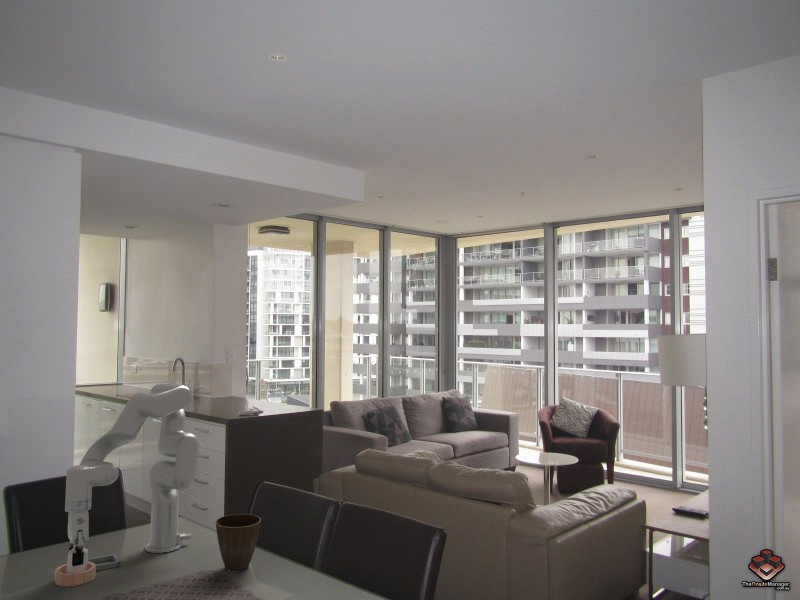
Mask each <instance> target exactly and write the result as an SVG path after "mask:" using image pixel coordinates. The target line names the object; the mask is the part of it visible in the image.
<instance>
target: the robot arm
mask: <svg viewBox="0 0 800 600" xmlns="http://www.w3.org/2000/svg"><path fill="white" fill-rule="evenodd" d="M192 399H193V394H192V391H191V389H190V388H189V387H188V386H186V385H184V384H174V383H173V384H172V383H157V384H155V385H153V386H152V387H151V389H150V393H149V392H136V393H134V394H133V395H132V396H131V397H130V398H129V400H128V401H127V403H126V404H125V406H124V407H123V409H122V411H120V412H121V413H120V414H119V416H118V417H117V419H116V420H115V422H114V424H113V426H112V427H111V428H110V430H108V431H107V432H105V433H104V434H103V435H101V436H100V437H99V438H98V439H97V440H95V442H94V443H92V445H91V446H90V447H89V448H88V449H87V451H86V453H85V454H84V456H83V458H82V460H80V463H79V464H77V465H72V466H70V467H69V468H67V470H66V474H65V475H66V477H65V479H66V480H65V482H66V483H65V501H64V503H65V504H64V512H66V513H68V514H67V515H68V517H67V520H68V521H67V537H68V539H69V547H68V548H69V549H68V552H69V551H70V550H71V549H73V550H74V553H72V566H78V565H83V561H84V548H85V547H84V545H85V542H86V543H88V542H89V540H90V539H89V537H90V535H89V534H90V533H89V532H90V530H89V529H90V526H89V525H90V524H89V523H90V521H89V520H90V519H89V516H90V515H89V510H91V509H92V493H93V487H103V486H104V487H105V486H106V487H107V486H110V485H111V484H113V483H115V482H116V481H117V480H118V478H119V475H120V471H119V468H118V466H117V465H116V464H114V463H112V462H109V461H105V459H106V458H107V457H108V456H109V454H110V453H112V452H113V451H114V450H117V449H118V448H120V447H122V446H125V445H127V444H129V443H131V442H132V443H133V441H135V440H136V438H137V437H138V434H139V433H140V431H141V429H142V427H143V425H144V424H145V422H146V421H147V419H160V418H161V423H160V424H161V425H160V430H159V438H158V445H157V450H158V453H160V454H161V455H162V456H164V457H168V458H173V459H175V460H174V461H173V460H169V459H163V460H162V459H161V460H159V461H157V462H155V463H154V464H153V465H152V466H151V468H150V471H149V476H148V477H149V484H150V489H151V490H150V492H151V501H150V502H151V503H150V504H151V507H150V527H149V529H150V530H149V531H150V532H149V533H150V534H149V535H150V536H149V537H150V538H149V542H148V543H147V544H145V545H144V547H145V548H144V549H145V551H146V552H149V553H153V554H163V553H164V552H166V553H170V551H171V552H174V550H175V551H177V550H179V549H180V548H181V547H182V545H183V543H182V542H183V541H185V540H191V539H192V538H191V537H192V534H191V533H185V532H183V533H180V532H179V531H178V530H179V509H180V508H179V506H180V505H179V504H180V497H179V496H180V495H179V491H186V490H188V489H190V487H192V485H193V484H194V482H195V480H196V474H197V468H198V460H199V454H200V442H199V439H198V437H197V436H196V435H195V434H194V433H191V432H186V431H185V428H186V420H187V419H186V418H187V417H186V412H185V408H186V407H188V406H189V405H190V403H191V402H192ZM76 541H78V542H77V543H75V542H76ZM83 541H84V542H83ZM76 545H78V546H77V547H76Z"/></svg>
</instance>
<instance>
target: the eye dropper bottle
mask: <svg viewBox="0 0 800 600" xmlns="http://www.w3.org/2000/svg"><path fill="white" fill-rule="evenodd" d="M77 542H78V541H76V542H75V543H77ZM83 542H84V543H85V541H84V540H83ZM77 546H78V545H76V547H77ZM72 553H74V550H73V549H71V550H70V551H69V550H68V554H67V562H66V564H67V569H66V574H69V573H79V572H83V571H86V567H87V559H89V557H88V556H89V550H88V549H87V548H85V547H84V561H83V565H78V566H72Z"/></svg>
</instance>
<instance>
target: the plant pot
mask: <svg viewBox="0 0 800 600" xmlns="http://www.w3.org/2000/svg"><path fill="white" fill-rule="evenodd" d="M261 522H262V518H261V517H260V516H258V515H255V514H252V513H251V514H250V513H238V514H237V513H236V514H234V513H233V514H230V515H224V516H222V517H219V518H217V519H216V521H215V529H216V536H217V538H216V539H217V541H218V548H219V552H220V555H221V560H222V563H223V565H224V568H225V570H226V569H227V570H230V571H240V572H242V571H241V570H244V571H246V570H247V569H249V567H250V564H251V561H252V559H253V555H254V553H255V549H256V545H257V542H258V538H259V534H260V528H261ZM245 569H246V570H245ZM227 570H226V571H227ZM230 571H229V572H230Z"/></svg>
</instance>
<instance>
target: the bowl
mask: <svg viewBox="0 0 800 600" xmlns="http://www.w3.org/2000/svg"><path fill="white" fill-rule="evenodd" d="M96 565H97V564H96V563H92V562H87V567H86V571H83V572H79V573H69V574H66V569H67V563H65V564H62V565H60V566H58V567H57V568H56V569H54V584H55V585H56V586H59V585H60V586H59V587H76V586H81V585H84V583H85V584H88V583H90V582H92V581H93V580H94V579H95V578H96V573H97V571H96ZM80 584H81V585H80Z"/></svg>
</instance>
